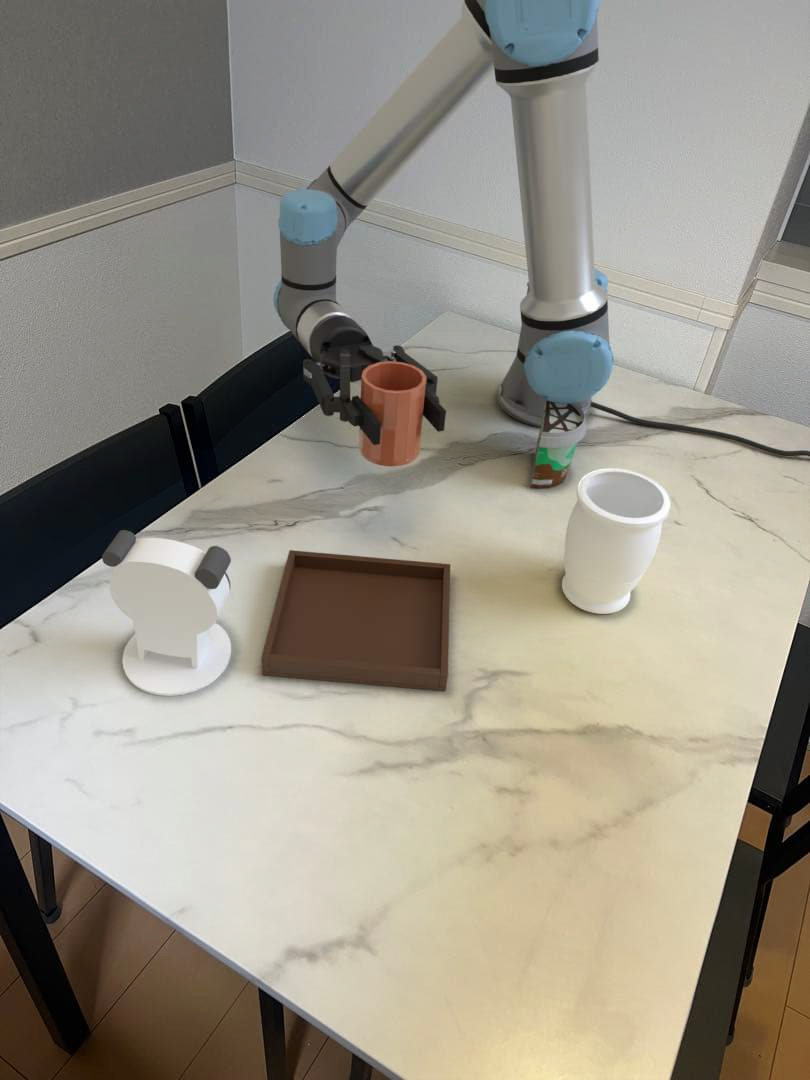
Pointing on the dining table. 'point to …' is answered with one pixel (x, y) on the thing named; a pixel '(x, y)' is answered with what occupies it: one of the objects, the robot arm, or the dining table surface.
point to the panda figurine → (170, 611)
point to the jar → (612, 537)
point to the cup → (393, 411)
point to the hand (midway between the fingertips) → (410, 427)
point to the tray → (361, 621)
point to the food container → (557, 443)
